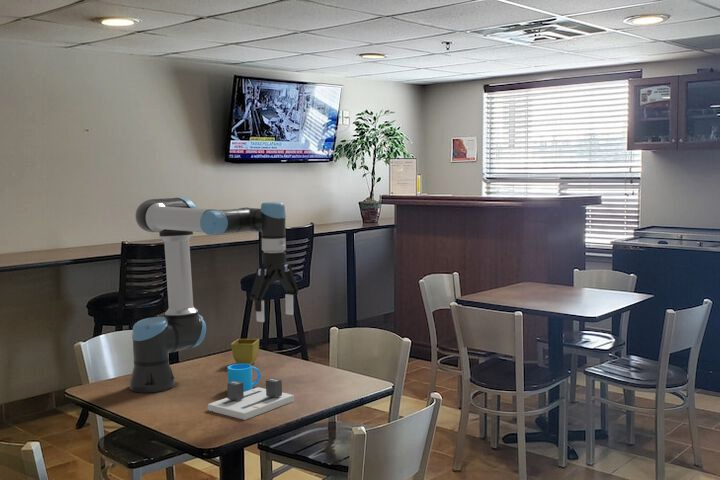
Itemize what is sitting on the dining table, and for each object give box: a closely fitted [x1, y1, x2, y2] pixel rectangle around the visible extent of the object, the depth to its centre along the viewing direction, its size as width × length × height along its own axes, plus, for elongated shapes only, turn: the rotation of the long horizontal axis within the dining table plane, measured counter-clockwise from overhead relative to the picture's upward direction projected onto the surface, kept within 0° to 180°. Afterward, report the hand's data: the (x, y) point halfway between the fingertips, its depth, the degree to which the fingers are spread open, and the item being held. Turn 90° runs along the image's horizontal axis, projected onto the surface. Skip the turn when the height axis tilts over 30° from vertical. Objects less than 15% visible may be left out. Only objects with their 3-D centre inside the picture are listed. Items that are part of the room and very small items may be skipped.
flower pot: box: [230, 338, 260, 366], centre depth 286 cm, size 9×9×9 cm
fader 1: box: [226, 381, 244, 401], centre depth 234 cm, size 4×3×5 cm
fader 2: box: [265, 377, 283, 398], centre depth 236 cm, size 4×3×5 cm
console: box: [207, 386, 295, 421], centre depth 234 cm, size 16×22×2 cm
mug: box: [227, 363, 262, 392], centre depth 252 cm, size 12×8×8 cm
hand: (275, 318), depth 236 cm, fingers open, 13 cm apart
